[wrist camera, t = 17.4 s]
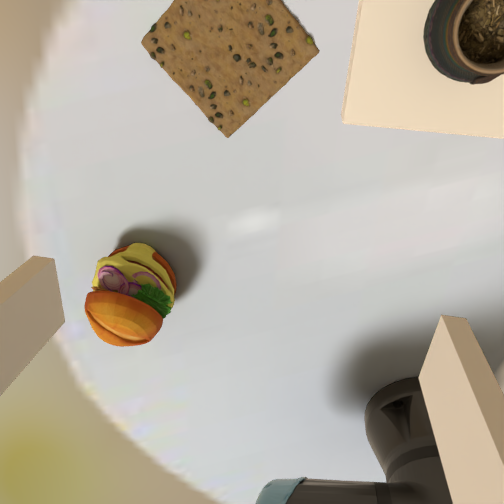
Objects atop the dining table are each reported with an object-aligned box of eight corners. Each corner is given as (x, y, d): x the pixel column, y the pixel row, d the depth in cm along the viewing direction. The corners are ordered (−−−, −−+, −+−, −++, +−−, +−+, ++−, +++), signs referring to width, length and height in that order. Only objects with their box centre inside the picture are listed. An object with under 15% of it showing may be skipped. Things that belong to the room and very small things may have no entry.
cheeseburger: (188, 248, 49) (159, 314, 42) (183, 305, 57) (158, 369, 49) (104, 228, 49) (61, 290, 42) (110, 287, 57) (75, 349, 49)
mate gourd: (397, 25, 32) (414, 19, 23) (493, -60, 29) (553, -104, 20) (451, 99, 34) (485, 120, 25) (548, 26, 30) (626, 21, 22)
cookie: (228, 140, 43) (226, 142, 42) (139, 42, 40) (135, 43, 39) (322, 52, 38) (322, 52, 37) (229, -69, 35) (226, -71, 34)
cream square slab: (516, 129, 39) (540, 142, 34) (340, 113, 40) (342, 123, 36) (594, -91, 31) (639, -111, 27) (374, -100, 33) (382, -120, 28)
